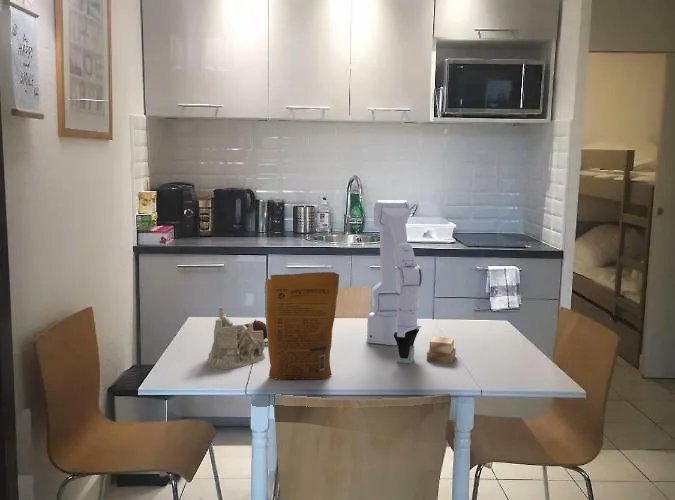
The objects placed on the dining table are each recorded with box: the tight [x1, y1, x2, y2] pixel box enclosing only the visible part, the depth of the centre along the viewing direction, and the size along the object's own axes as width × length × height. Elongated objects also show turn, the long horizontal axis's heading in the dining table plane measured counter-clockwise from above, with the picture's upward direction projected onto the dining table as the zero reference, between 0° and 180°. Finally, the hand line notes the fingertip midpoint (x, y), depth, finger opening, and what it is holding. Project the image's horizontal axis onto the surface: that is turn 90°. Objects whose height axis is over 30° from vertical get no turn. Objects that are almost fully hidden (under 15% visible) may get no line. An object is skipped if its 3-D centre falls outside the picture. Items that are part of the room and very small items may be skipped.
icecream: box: [243, 319, 268, 340], centre depth 211 cm, size 7×8×15 cm
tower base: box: [426, 347, 457, 364], centre depth 197 cm, size 7×7×3 cm
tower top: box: [428, 335, 455, 354], centre depth 197 cm, size 6×6×3 cm
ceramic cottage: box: [207, 306, 266, 370], centre depth 191 cm, size 16×16×15 cm
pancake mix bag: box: [264, 271, 340, 381], centre depth 176 cm, size 7×19×28 cm, turn 97°
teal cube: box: [396, 345, 415, 364], centre depth 194 cm, size 4×4×4 cm
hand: (405, 355), depth 195 cm, fingers closed on teal cube, 4 cm apart
